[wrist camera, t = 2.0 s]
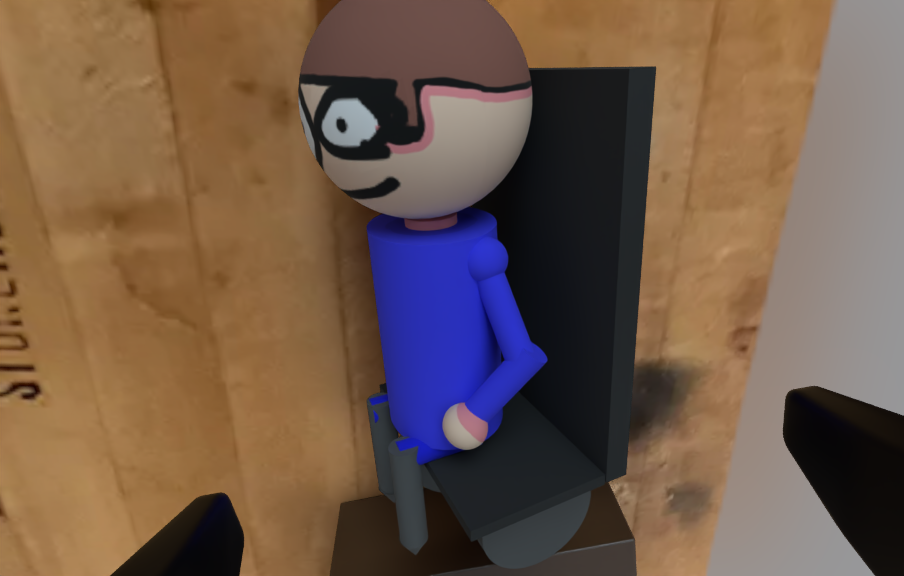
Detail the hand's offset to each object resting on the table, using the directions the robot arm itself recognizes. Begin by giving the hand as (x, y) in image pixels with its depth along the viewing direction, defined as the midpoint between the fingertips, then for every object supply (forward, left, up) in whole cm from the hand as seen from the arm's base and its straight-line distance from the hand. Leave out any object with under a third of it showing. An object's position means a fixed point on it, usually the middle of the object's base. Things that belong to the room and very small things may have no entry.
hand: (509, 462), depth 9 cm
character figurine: (0, 0, -10) cm, 10 cm away
